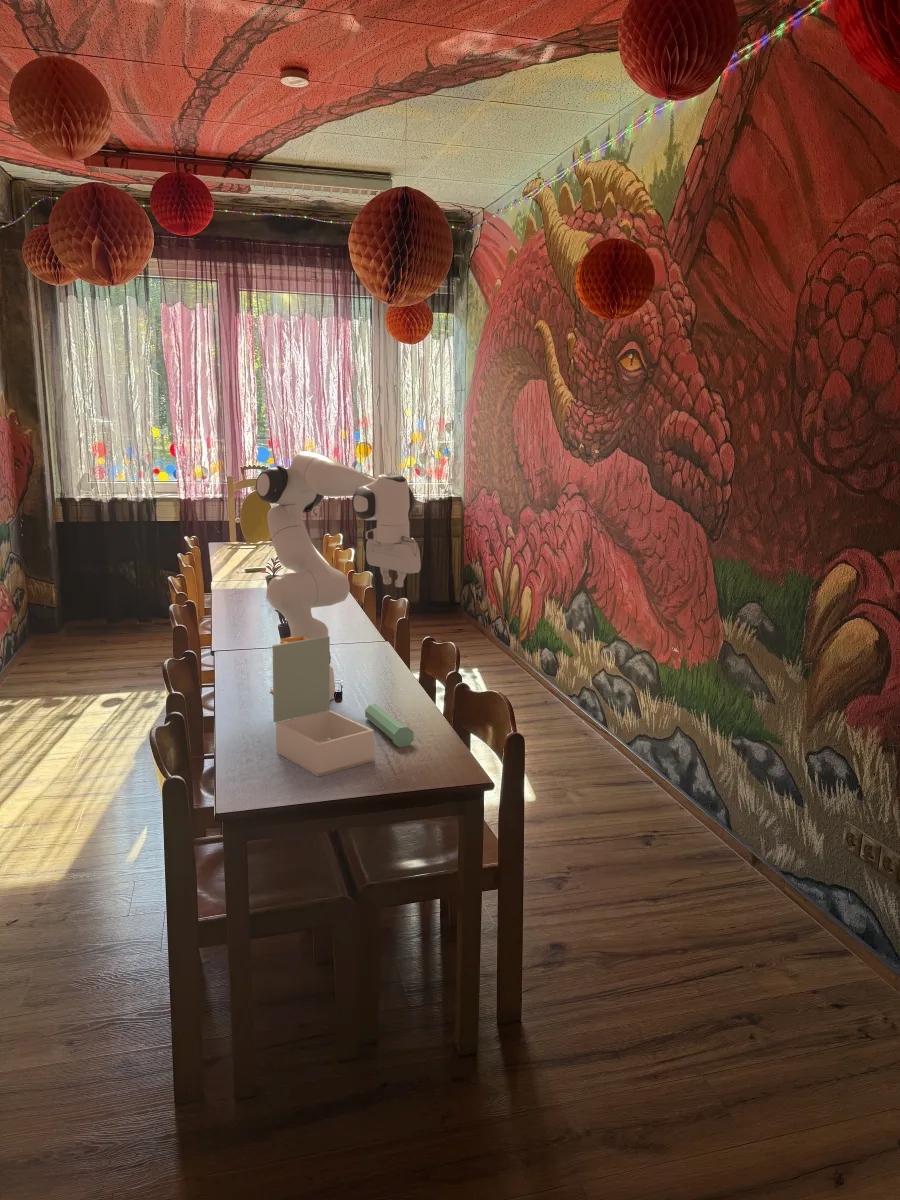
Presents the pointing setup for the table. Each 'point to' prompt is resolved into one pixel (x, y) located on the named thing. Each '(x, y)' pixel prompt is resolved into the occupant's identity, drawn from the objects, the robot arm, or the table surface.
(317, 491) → the robot arm
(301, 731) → the parts tub
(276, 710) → the lid
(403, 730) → the green octagonal rod
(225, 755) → the table surface
